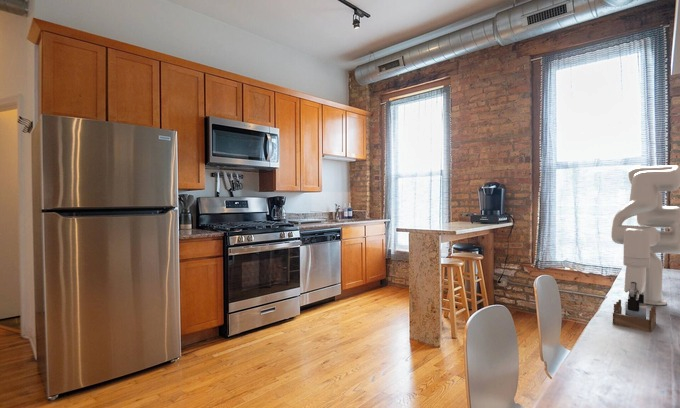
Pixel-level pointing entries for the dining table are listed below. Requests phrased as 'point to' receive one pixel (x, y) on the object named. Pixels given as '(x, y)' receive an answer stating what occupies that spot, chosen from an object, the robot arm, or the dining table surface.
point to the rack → (634, 319)
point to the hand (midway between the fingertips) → (635, 307)
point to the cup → (634, 313)
